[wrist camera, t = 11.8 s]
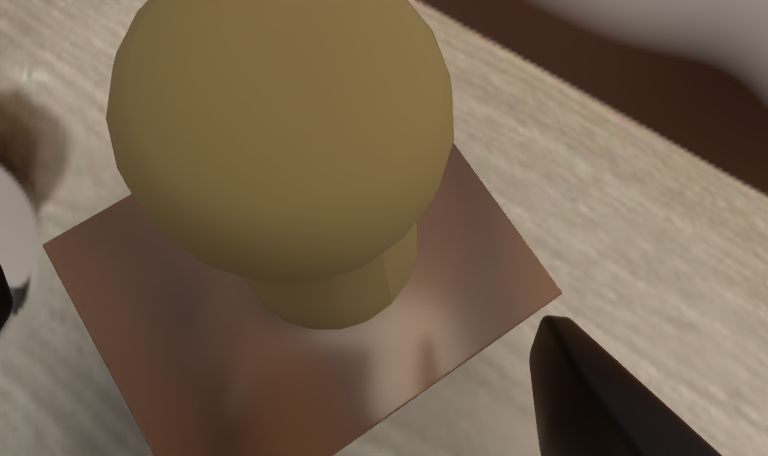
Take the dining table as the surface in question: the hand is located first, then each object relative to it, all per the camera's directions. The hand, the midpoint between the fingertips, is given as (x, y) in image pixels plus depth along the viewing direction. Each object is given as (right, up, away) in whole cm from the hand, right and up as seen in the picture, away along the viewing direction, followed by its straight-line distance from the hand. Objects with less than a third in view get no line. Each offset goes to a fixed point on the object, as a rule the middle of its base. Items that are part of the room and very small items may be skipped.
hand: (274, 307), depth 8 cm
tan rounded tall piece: (0, +1, +9) cm, 9 cm away
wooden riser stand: (-1, -1, +13) cm, 13 cm away
